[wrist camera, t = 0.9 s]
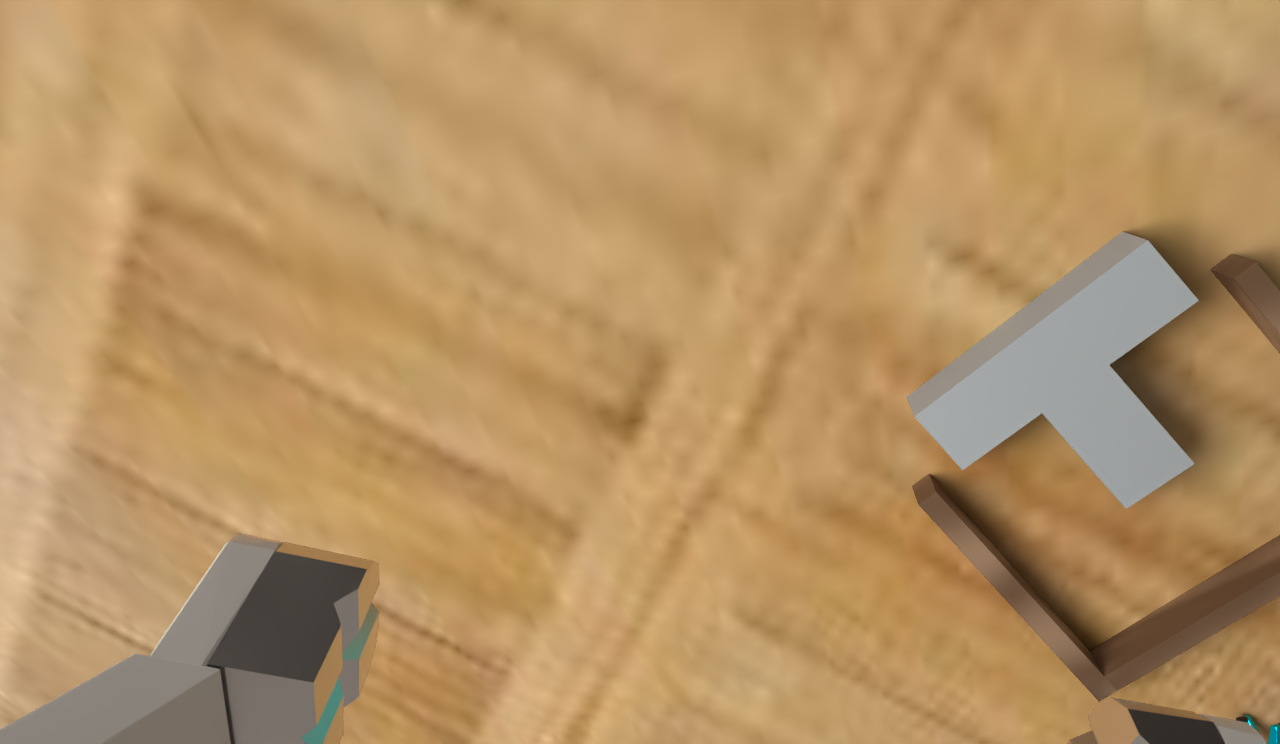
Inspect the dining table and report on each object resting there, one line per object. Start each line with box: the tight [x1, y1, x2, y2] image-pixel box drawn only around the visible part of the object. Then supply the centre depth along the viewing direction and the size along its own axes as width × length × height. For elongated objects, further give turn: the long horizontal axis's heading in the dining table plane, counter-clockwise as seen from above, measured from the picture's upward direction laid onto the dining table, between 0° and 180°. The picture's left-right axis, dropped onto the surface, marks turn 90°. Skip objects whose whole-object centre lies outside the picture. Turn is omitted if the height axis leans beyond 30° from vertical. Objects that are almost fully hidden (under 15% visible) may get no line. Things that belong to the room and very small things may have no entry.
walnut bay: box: [912, 254, 1280, 701], centre depth 48 cm, size 16×20×2 cm
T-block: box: [906, 232, 1199, 509], centre depth 47 cm, size 11×14×4 cm
